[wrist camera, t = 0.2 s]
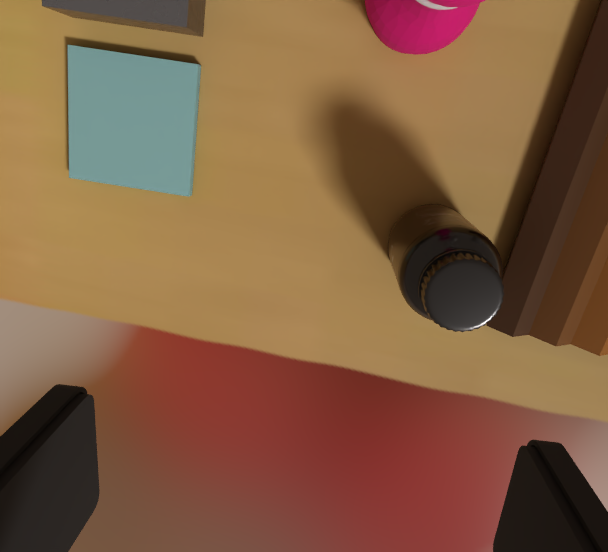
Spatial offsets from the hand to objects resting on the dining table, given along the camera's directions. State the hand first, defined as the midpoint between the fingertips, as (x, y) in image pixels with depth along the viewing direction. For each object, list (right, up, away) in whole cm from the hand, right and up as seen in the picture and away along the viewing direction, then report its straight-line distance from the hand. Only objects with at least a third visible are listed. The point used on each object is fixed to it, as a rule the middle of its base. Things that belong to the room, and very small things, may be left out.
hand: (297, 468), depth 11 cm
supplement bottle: (+10, +7, +30) cm, 32 cm away
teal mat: (-13, +16, +28) cm, 35 cm away
